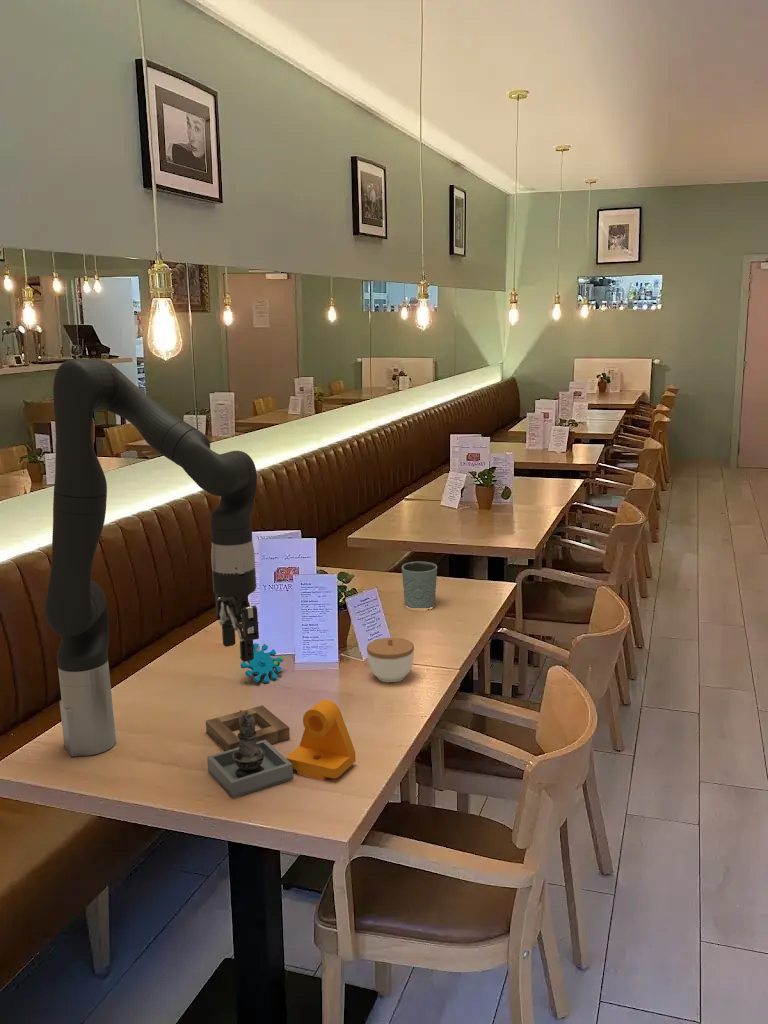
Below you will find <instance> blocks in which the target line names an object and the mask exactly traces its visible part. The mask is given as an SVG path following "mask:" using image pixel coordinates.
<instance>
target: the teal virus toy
mask: <svg viewBox="0 0 768 1024" xmlns="http://www.w3.org/2000/svg"><path fill="white" fill-rule="evenodd" d="M259 647H260V644H259V643H257V642H253V650H254V659H253V660H250V661H246V662H247V663H246V662H243V661H242V662H241V663H240V668H241V669H247V670H246V671H245V673H244V674H245V676H246V678H249V677H251V676H253V674H255V677H253V681H254V682H255V683H258V682H260V680H261V676H264V679H262V682H263V683H264V684H268V683H270V681H271V680H273V681H274V680H276V679H277V678H278V677H279V675H278V674H279V673H280V672H281V671H282V667H281V666H280V664H281V663H283V662H284V660H285V656H284V655H281V656H280V657H276V658H275V656H276V654H277V652H276V650H275V649H271V650H270V651H269V652H266V651H268V648H269V646H268V644H265V643H263V644H262V646H261V650H260V651H259V650H257V649H258V648H259ZM271 656H272V657H271ZM239 658H240V659H241V656H240V655H239ZM269 673H270V675H271V676H270V678H269ZM276 673H277V674H276ZM256 674H257V675H256ZM270 679H271V680H270Z"/></svg>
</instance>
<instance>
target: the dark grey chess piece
mask: <svg viewBox="0 0 768 1024" xmlns="http://www.w3.org/2000/svg"><path fill="white" fill-rule="evenodd" d="M244 713H245V715H243V716H241V717H240V719H239V729H238V734H237V736H238V738H239V739H240V748H239V749H238V750H236V751H235V752H234V753H233V755H232V757H233V759H234V761H235V763H236V765H237V766H238V767H239V768H238V769H237V770H236V772H235V775H236V776H237V777H238V778H242V777H245V776H248V775H251V774H255V773H258V772H261V771H264V768H263V767H262V766H260V765H261V764H262V762H263V759H264V755H265V751H264V750H263V749H262V748H259V747H257V744H256V736H257V734H258V733H257V732H256V731H257V730H256V724H255V719H254V717H253V716H252V715H250V714H248V712H247V711H245V712H244Z"/></svg>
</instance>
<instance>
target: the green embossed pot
mask: <svg viewBox="0 0 768 1024" xmlns="http://www.w3.org/2000/svg"><path fill="white" fill-rule="evenodd" d="M401 574H402V575H401V576H402V585H403V586H402V587H403V597H404V598H403V599H404V606H405V605H406V606H408V607H410V608H430V607H433V606H434V605H436V595H437V594H436V592H437V591H436V589H437V577H438V576H437V575H438V565H437V564H436V563H434V562H428V561H411V562H405V563H403V564H402V565H401Z"/></svg>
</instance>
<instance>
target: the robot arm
mask: <svg viewBox="0 0 768 1024" xmlns="http://www.w3.org/2000/svg"><path fill="white" fill-rule="evenodd" d="M52 390H53V391H52V393H53V394H52V398H53V413H54V427H55V466H54V467H55V468H54V469H55V471H54V485H53V502H52V505H53V506H52V538H51V540H52V541H51V543H52V544H51V551H52V552H51V567H50V575H49V582H48V586H47V587H48V588H47V592H46V599H45V607H44V611H45V613H44V614H45V619H46V622H47V624H48V625H49V627H50V629H51V630H52V632H54V633H55V634H57V635H59V637H61V640H60V643H59V647H58V649H57V652H56V662H57V669H58V679H59V681H58V682H59V688H60V697H61V699H60V700H59V709H60V711H59V712H60V718H61V728H62V735H63V737H62V738H63V744H64V745H63V746H64V747H65V749H66V750H67V752H68V754H69V755H70V757H71V758H73V757H79V756H81V757H85V756H93V755H98V754H102V753H104V752H107V751H108V750H110V749H112V748H113V747H114V746H115V745H116V743H117V733H116V732H117V731H116V727H115V726H116V724H115V716H114V706H113V705H114V704H113V696H112V687H111V677H110V676H111V675H110V666H109V665H110V664H109V656H108V655H109V654H108V651H109V646H110V621H109V609H108V600H107V597H106V593H105V592H104V590H103V588H102V587H101V586H100V585H99V584H98V583H97V582H96V581H94V580H92V567H93V562H94V556H95V554H96V551H97V548H98V545H99V542H100V538H101V537H102V532H103V529H104V525H105V520H106V512H107V500H108V499H107V498H108V497H107V495H108V484H107V478H106V476H105V473H104V470H103V468H102V465H101V462H100V461H99V458H98V457H97V453H96V450H95V448H94V445H93V438H92V437H93V436H92V434H93V433H92V430H93V429H92V427H93V415H94V412H96V411H97V412H99V411H103V410H104V411H107V412H110V413H112V414H114V415H116V416H119V417H121V418H123V419H124V420H126V421H127V422H129V423H130V424H132V425H133V427H135V428H136V430H137V431H138V432H139V434H140V435H141V436H142V438H143V439H144V441H145V442H146V443H147V444H148V445H149V446H150V447H151V448H153V450H155V451H156V452H157V453H159V454H160V455H162V456H164V457H165V458H166V459H168V460H170V461H171V462H172V463H174V464H176V465H178V466H179V467H180V468H182V469H183V471H184V472H185V473H186V474H187V475H188V476H189V478H190V479H192V480H193V481H194V482H195V484H196V485H197V486H198V487H200V489H202V490H203V491H205V492H206V493H208V494H210V495H213V496H215V497H220V501H219V504H218V505H217V507H216V508H215V509H214V510H213V511H212V512H211V515H210V535H211V536H210V537H211V551H210V559H211V561H210V562H211V574H212V577H211V578H212V591H213V593H214V595H215V596H214V597H215V599H214V600H215V601H214V602H215V619H216V620H217V621H219V625H220V627H221V634H222V635H221V636H222V645H223V646H224V647H227V648H228V647H232V646H235V645H236V642H237V641H236V632H237V634H238V637H239V654H240V655H239V657H240V656H241V658H240V660H241V661H242V662H247V661H250V660H253V659H254V649H253V644H254V641H255V640H260V635H259V633H260V632H259V617H258V607H257V605H251V603H250V602H249V598H248V597H249V596H250V595H251V594H252V593H254V592H255V591H256V590H257V579H256V578H257V577H256V576H257V575H256V559H255V558H256V556H255V554H256V553H255V548H254V543H253V542H254V541H253V526H252V512H253V508H254V505H255V504H254V502H255V499H256V498H255V497H256V491H257V485H258V475H257V468H256V465H255V462H254V460H253V459H252V457H251V456H250V455H249V454H248V453H247V452H244V451H242V450H231V451H227V452H225V453H217V452H215V451H213V450H212V449H211V441H210V439H209V437H208V436H207V435H206V434H204V433H203V432H201V431H200V430H199V429H197V428H196V427H194V426H193V425H191V424H189V423H187V422H186V421H184V420H183V419H182V418H180V417H178V416H177V415H175V414H173V413H172V412H170V411H169V410H167V409H166V408H165V407H163V406H162V405H160V404H159V403H158V402H157V401H155V400H154V399H153V398H151V397H150V396H149V395H148V394H147V393H145V392H144V391H143V390H142V389H140V388H139V387H138V386H137V385H136V384H135V383H134V382H132V381H131V380H130V378H128V377H127V376H126V375H125V374H124V373H123V372H122V371H121V370H119V369H118V368H117V367H116V366H115V365H114V364H112V363H110V362H108V361H106V360H103V359H97V358H92V359H91V358H89V359H87V358H83V359H82V358H80V359H79V358H78V359H76V358H75V359H74V358H73V359H68V360H65V361H63V362H62V363H61V364H60V365H59V366H58V368H57V369H56V371H55V375H54V378H53V386H52Z"/></svg>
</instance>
